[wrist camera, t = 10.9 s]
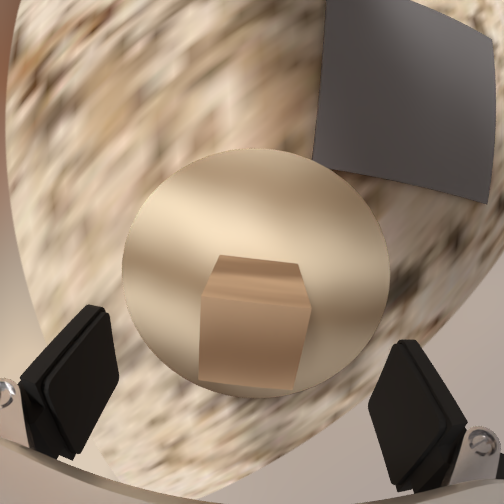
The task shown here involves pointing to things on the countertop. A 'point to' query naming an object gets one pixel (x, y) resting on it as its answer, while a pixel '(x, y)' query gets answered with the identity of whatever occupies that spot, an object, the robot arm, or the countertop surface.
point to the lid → (255, 273)
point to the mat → (406, 97)
